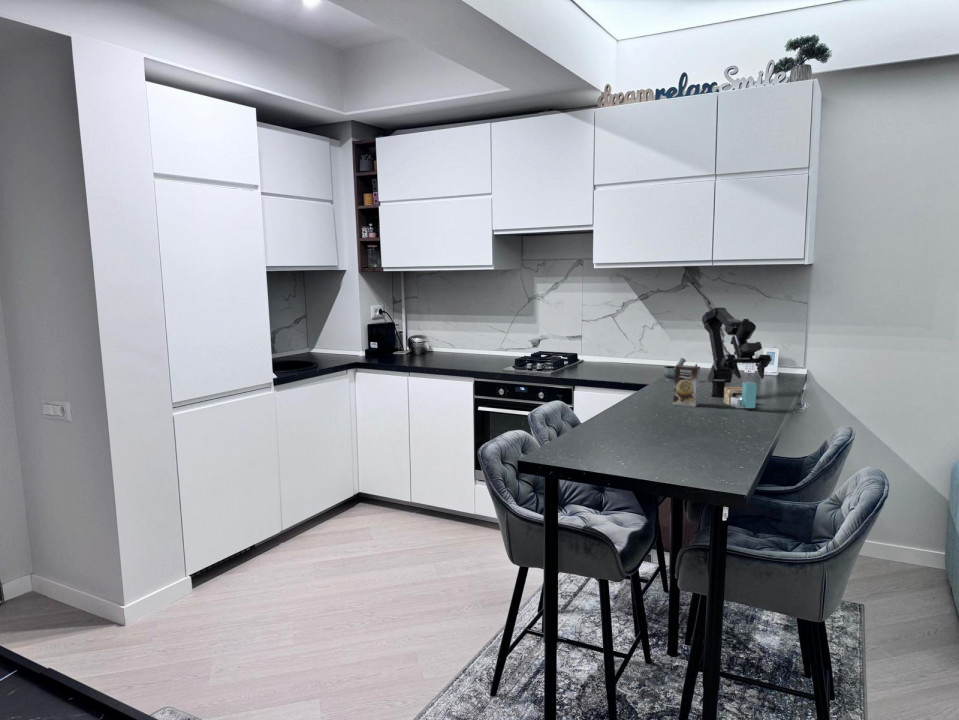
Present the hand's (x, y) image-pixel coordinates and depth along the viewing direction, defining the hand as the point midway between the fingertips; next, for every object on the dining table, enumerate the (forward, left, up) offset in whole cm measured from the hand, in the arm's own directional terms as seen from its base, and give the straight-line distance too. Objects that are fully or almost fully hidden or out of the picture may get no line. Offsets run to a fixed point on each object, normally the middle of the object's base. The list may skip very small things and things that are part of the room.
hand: (751, 378), depth 264 cm
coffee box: (-6, -24, -13) cm, 28 cm away
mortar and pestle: (-66, -25, -13) cm, 72 cm away
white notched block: (-7, -2, -13) cm, 15 cm away
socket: (-13, -4, -13) cm, 19 cm away
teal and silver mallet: (-6, -2, -12) cm, 13 cm away
